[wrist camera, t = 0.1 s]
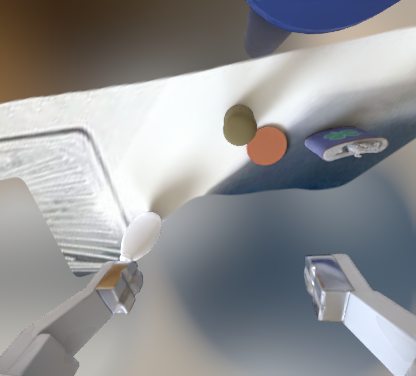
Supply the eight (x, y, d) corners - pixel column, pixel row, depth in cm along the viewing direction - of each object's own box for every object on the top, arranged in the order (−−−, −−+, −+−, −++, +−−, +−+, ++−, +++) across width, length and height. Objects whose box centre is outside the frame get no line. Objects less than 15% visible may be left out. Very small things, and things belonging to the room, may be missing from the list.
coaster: (244, 130, 38) (244, 130, 37) (286, 123, 36) (286, 123, 36) (248, 166, 41) (248, 167, 41) (286, 161, 39) (287, 162, 39)
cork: (251, 100, 35) (258, 103, 25) (256, 132, 38) (263, 146, 28) (220, 109, 36) (215, 115, 27) (227, 139, 39) (224, 154, 29)
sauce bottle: (168, 208, 49) (137, 263, 33) (166, 230, 53) (137, 289, 37) (140, 201, 50) (96, 253, 34) (140, 224, 53) (100, 279, 37)
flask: (304, 148, 38) (327, 167, 28) (303, 134, 37) (327, 148, 27) (355, 138, 36) (399, 153, 26) (356, 122, 34) (402, 133, 25)
